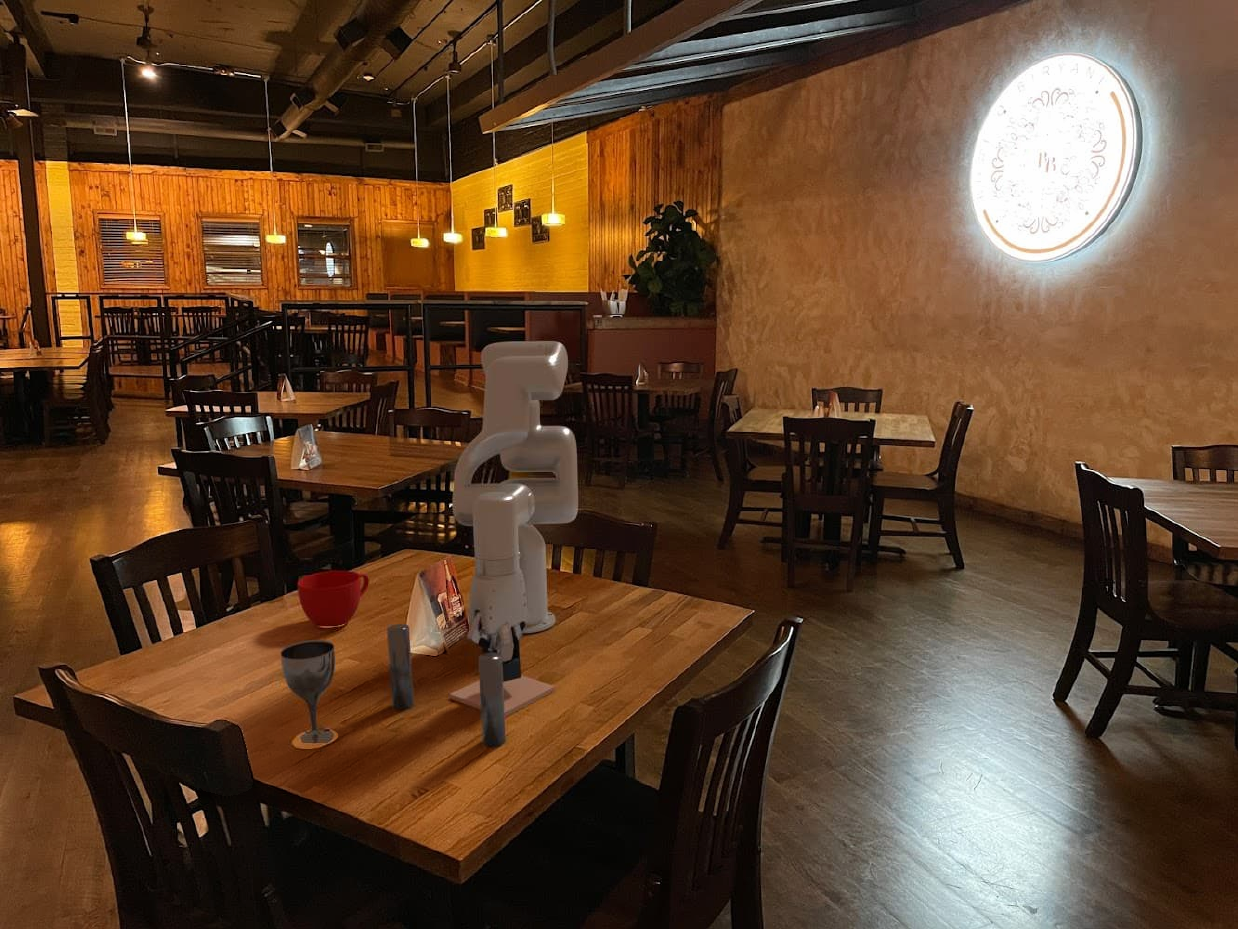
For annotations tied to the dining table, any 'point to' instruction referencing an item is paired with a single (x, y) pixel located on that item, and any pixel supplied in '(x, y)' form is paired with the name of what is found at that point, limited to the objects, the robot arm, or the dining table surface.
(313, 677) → the wine glass
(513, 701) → the terracotta tile
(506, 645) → the watch
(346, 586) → the ceramic cup
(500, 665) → the metal post
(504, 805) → the dining table surface
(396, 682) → the metal post
